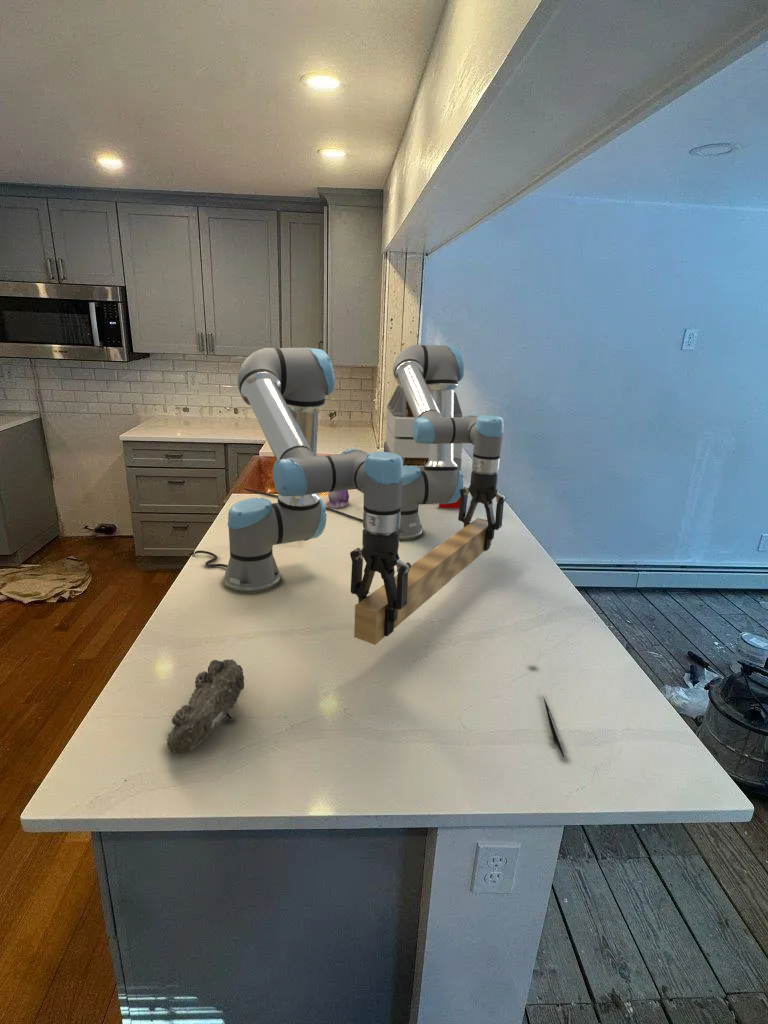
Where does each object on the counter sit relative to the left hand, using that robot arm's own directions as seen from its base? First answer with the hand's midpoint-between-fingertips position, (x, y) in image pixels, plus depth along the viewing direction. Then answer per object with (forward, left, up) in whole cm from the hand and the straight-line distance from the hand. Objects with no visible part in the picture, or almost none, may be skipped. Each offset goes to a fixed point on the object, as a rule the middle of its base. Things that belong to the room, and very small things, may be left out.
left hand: (376, 628), depth 123 cm
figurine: (-92, +57, -9) cm, 108 cm away
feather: (+32, +18, -9) cm, 38 cm away
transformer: (-108, +118, -9) cm, 160 cm away
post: (-9, +27, -1) cm, 28 cm away
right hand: (-17, +53, 0) cm, 56 cm away
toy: (-74, +100, -9) cm, 125 cm away
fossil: (-6, -35, -9) cm, 37 cm away
